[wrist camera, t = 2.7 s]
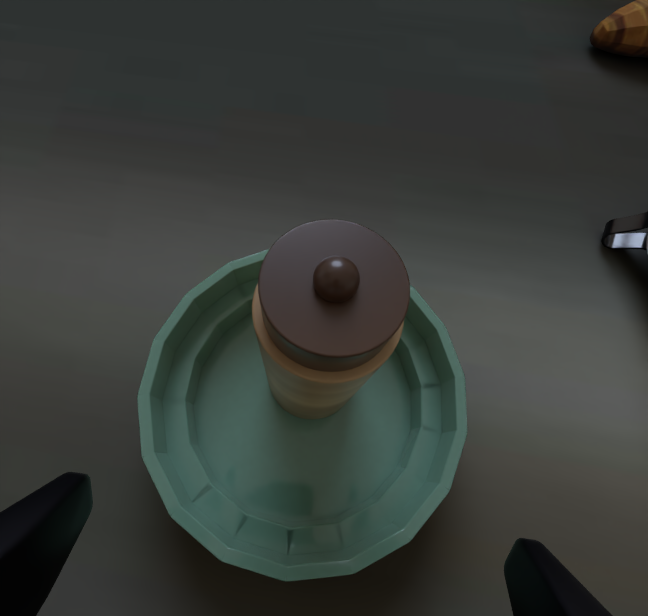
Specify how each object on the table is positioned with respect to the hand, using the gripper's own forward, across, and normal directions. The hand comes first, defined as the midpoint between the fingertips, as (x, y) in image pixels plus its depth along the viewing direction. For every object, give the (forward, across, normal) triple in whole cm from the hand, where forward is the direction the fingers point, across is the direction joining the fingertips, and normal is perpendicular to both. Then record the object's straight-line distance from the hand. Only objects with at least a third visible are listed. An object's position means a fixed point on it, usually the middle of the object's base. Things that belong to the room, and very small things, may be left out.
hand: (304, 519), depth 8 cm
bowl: (+11, 0, +5) cm, 12 cm away
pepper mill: (+12, 0, +4) cm, 12 cm away
